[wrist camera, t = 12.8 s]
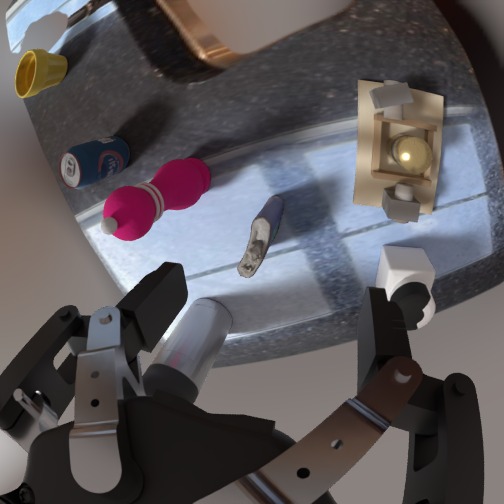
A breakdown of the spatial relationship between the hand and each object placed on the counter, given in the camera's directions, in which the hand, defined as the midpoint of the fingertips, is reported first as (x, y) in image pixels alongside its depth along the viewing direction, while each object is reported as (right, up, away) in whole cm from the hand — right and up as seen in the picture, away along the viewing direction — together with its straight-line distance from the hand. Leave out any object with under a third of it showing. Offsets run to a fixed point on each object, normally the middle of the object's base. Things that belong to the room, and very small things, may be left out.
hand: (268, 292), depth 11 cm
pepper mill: (-10, +13, +29) cm, 34 cm away
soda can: (-24, +19, +31) cm, 44 cm away
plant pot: (-41, +40, +24) cm, 63 cm away
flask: (+2, +6, +30) cm, 30 cm away
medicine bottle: (+22, 0, +27) cm, 35 cm away
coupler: (+18, +15, +18) cm, 30 cm away
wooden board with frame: (+19, +16, +19) cm, 31 cm away
